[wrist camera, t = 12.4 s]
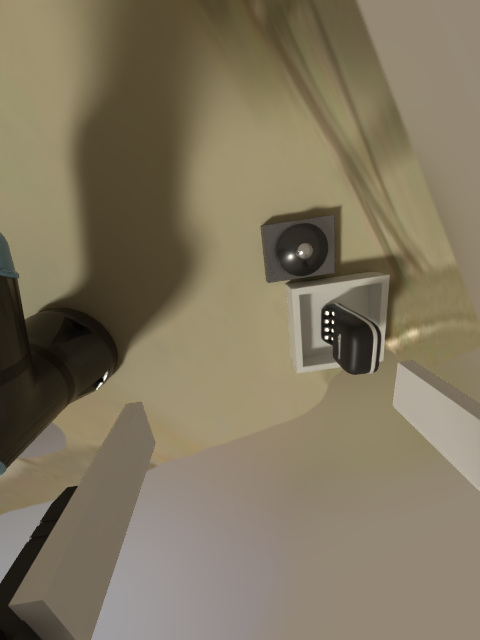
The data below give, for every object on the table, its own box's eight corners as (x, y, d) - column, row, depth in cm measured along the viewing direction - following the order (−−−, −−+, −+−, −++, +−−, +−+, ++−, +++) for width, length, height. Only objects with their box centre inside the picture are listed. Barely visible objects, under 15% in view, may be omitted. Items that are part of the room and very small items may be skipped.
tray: (291, 360, 41) (297, 373, 37) (285, 284, 36) (291, 289, 33) (368, 349, 41) (383, 361, 37) (373, 271, 36) (389, 274, 32)
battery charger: (315, 303, 36) (351, 330, 26) (339, 300, 36) (385, 326, 26) (315, 343, 39) (348, 382, 28) (338, 340, 39) (379, 379, 28)
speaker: (266, 280, 36) (270, 286, 32) (260, 226, 33) (264, 224, 29) (329, 271, 36) (342, 275, 32) (328, 216, 33) (342, 212, 29)
